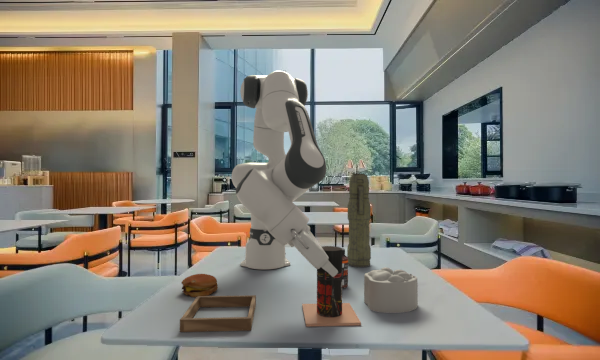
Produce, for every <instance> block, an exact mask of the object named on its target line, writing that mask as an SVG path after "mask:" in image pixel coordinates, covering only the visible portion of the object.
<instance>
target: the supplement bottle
mask: <svg viewBox="0 0 600 360" xmlns="http://www.w3.org/2000/svg"><path fill="white" fill-rule="evenodd" d="M341 248H342V289H345V288H347V287H348V286H349V265H348V257H347V254H346V248H343V247H341Z"/></svg>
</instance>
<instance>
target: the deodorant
mask: <svg viewBox="0 0 600 360" xmlns="http://www.w3.org/2000/svg"><path fill="white" fill-rule="evenodd" d="M321 247H322V248H323V250H324V251H325V253H326V254H327V255H328V257H329V259H328V260H329V262H330V263H331V264H332V265H333V266H334V267H335V268H336V269H337V270H338V273H337V274H336V275H335V276H334V277H332V276H331V275H330V274H329V273H328V272H327V271H325V270H324V269H323V268H322V267H320V268H319V269H316V304H317V314H318V315H320V316H323V317H338V316H340V315H342V303H343V288H342V248H343V247H340V246H336V245H335V246H334V245H333V246H331V245H326V246H325V245H324V246H322V245H321Z"/></svg>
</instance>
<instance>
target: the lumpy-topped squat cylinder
mask: <svg viewBox="0 0 600 360" xmlns="http://www.w3.org/2000/svg"><path fill="white" fill-rule="evenodd" d="M363 278H364V279H363V280H364V281H363V296H364V297H363V298H364V299H363V302H364V304H366V305H367V306H368V309H369V310H370V311H373V312H375V313H376V312H377V313H383V314H384V313H385V314H386V313H387V314H391V313H392V314H395V313H396V314H397V313H399V314H400V313H408V312H411V311H415V310H416V309H417V308H418V306H419V305H418V302H419V300H418V296H419V295H418V289H419V288H418V286H419V285H418V277H417V276H416V275H413V274H412V273H408V272H407V271H405V270H403V269H395V270H392V269H391V268H389V267H386V266H385V267H382V268H380V269H372V270H371V271H368V272H366V273H364V276H363Z"/></svg>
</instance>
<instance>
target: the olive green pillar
mask: <svg viewBox="0 0 600 360" xmlns="http://www.w3.org/2000/svg"><path fill="white" fill-rule="evenodd" d="M348 193H349V198H348V199H349V200H348V202H347V220H348V245H347V252H346V253H347V254H346V256H347V257H348V266H351V267H354V268H355V267H356V268H367V267H370V266H371V259H372V252H371V251H372V249H371V245H370V221H371V215H372V213H371V211H372V210H371V209H372V207H371V202H370V198H369V194H370V180H369V178H368V175H367V174H366V173H353V174H351V175H350V178H349V182H348Z"/></svg>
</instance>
